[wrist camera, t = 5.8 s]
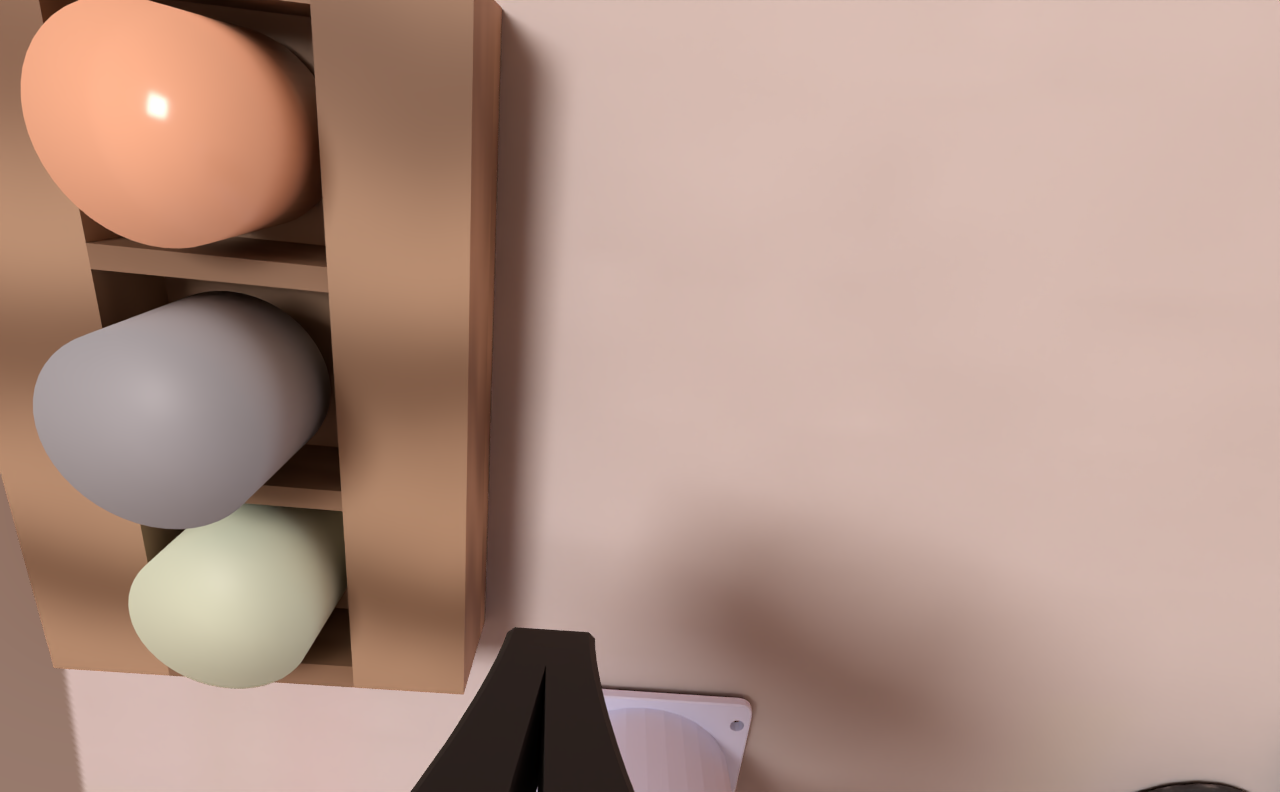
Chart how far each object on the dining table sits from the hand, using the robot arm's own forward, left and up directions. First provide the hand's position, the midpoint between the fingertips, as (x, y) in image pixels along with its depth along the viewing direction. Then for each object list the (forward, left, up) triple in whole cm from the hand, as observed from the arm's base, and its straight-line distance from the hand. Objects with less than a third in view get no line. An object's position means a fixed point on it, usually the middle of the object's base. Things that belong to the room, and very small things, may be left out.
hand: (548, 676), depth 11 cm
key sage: (-4, +9, -9) cm, 13 cm away
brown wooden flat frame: (+2, +9, -10) cm, 14 cm away
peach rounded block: (+8, +9, -9) cm, 15 cm away
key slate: (+2, +9, -8) cm, 12 cm away
